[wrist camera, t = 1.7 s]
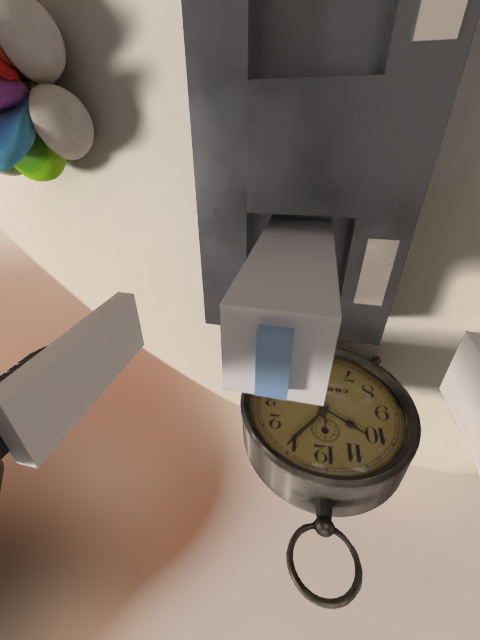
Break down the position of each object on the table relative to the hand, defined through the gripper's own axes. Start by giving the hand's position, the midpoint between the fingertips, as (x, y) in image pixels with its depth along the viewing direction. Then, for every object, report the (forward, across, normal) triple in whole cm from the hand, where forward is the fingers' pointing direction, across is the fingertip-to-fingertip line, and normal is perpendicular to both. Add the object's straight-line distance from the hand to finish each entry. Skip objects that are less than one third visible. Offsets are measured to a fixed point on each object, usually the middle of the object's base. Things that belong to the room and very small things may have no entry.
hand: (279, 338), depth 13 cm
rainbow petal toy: (+11, -18, +9) cm, 23 cm away
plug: (+10, 0, 0) cm, 10 cm away
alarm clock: (+11, +3, -10) cm, 15 cm away
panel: (+11, 0, +6) cm, 13 cm away
